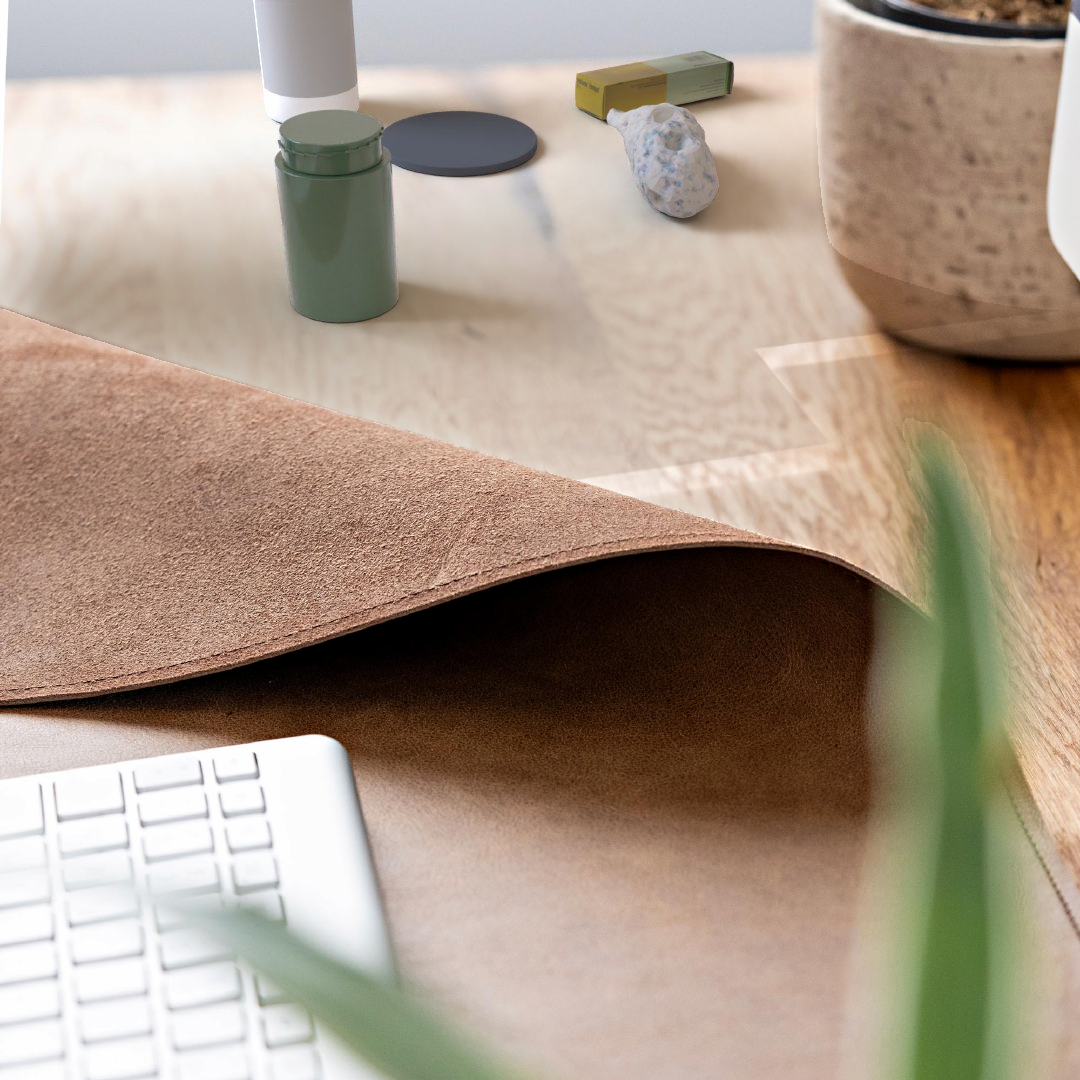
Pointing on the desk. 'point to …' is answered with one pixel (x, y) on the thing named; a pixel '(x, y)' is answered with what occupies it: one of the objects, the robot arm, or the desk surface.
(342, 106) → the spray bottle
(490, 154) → the coaster
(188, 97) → the desk surface
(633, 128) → the decorative stone
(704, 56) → the medication box
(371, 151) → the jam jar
